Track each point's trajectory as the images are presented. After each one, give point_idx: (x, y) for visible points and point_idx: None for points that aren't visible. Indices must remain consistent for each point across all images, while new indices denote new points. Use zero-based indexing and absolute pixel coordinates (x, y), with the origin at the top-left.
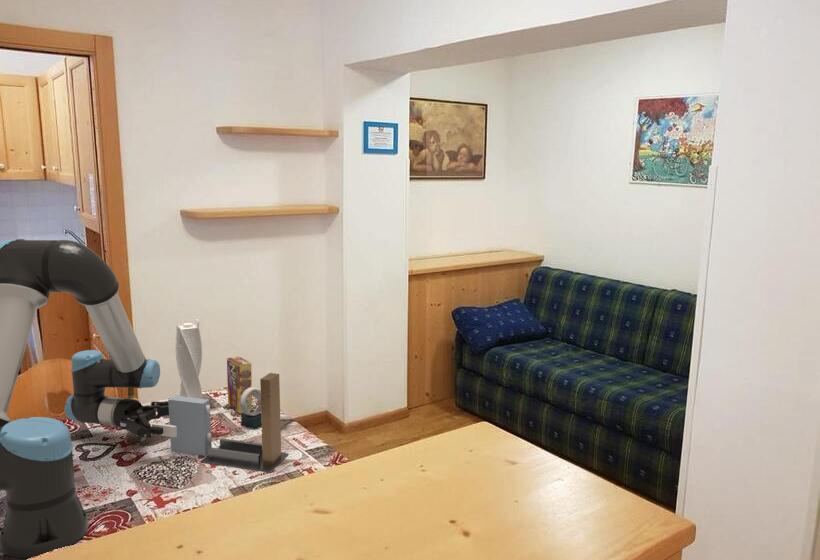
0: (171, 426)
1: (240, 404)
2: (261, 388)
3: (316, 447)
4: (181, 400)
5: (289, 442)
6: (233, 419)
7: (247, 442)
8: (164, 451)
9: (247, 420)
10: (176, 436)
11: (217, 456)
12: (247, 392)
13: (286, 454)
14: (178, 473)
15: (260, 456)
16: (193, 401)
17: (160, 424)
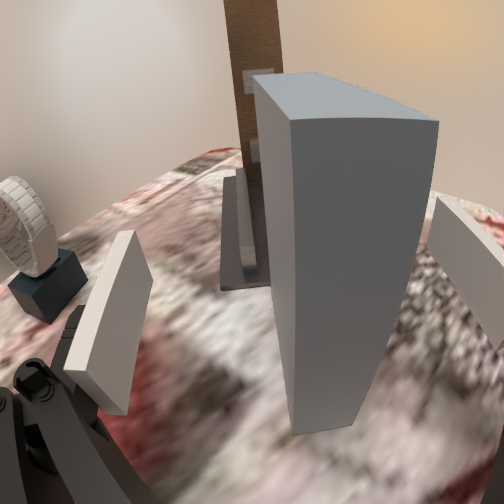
0: (460, 206)
1: (36, 236)
2: (276, 5)
3: (180, 172)
4: (356, 90)
5: (163, 200)
6: (9, 364)
7: (240, 195)
8: (371, 446)
9: (58, 283)
10: (430, 245)
11: None
12: (18, 187)
13: (229, 177)
14: (442, 277)
15: (257, 196)
16: (318, 78)
17: (500, 256)
